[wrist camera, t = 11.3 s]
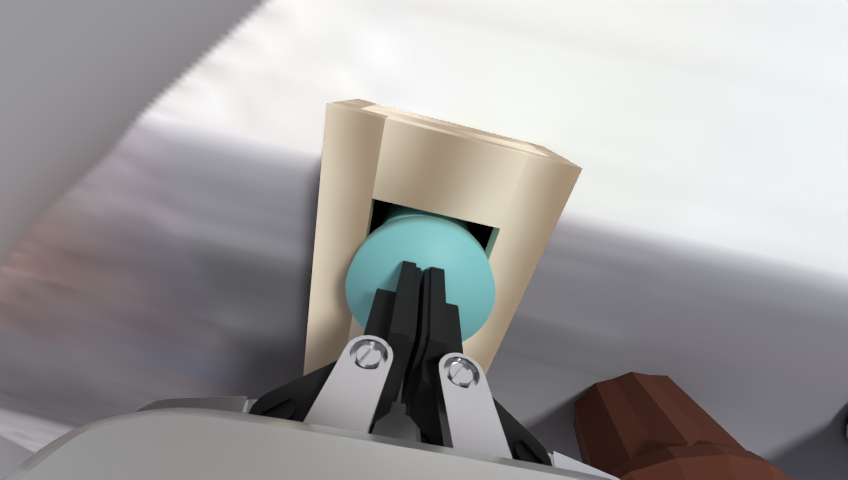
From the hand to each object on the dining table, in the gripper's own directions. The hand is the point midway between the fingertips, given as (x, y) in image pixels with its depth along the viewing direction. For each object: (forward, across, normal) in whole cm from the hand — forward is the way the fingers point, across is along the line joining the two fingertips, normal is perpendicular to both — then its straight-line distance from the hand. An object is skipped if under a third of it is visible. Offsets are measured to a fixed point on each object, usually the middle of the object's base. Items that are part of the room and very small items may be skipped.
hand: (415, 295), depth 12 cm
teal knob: (+7, 0, 0) cm, 7 cm away
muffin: (+7, -20, +12) cm, 25 cm away
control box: (+7, 0, +10) cm, 12 cm away
